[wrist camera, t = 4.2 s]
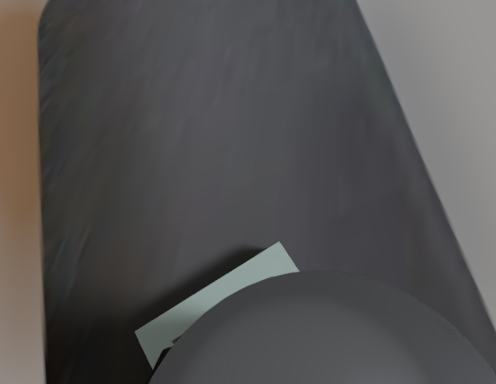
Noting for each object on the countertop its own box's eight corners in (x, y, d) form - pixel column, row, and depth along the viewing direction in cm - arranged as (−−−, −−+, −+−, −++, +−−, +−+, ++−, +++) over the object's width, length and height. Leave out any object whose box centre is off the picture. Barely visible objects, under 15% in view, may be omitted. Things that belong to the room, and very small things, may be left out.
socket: (364, 385, 17) (379, 393, 15) (225, 495, 16) (223, 518, 14) (274, 249, 20) (279, 241, 18) (144, 331, 18) (134, 331, 16)
